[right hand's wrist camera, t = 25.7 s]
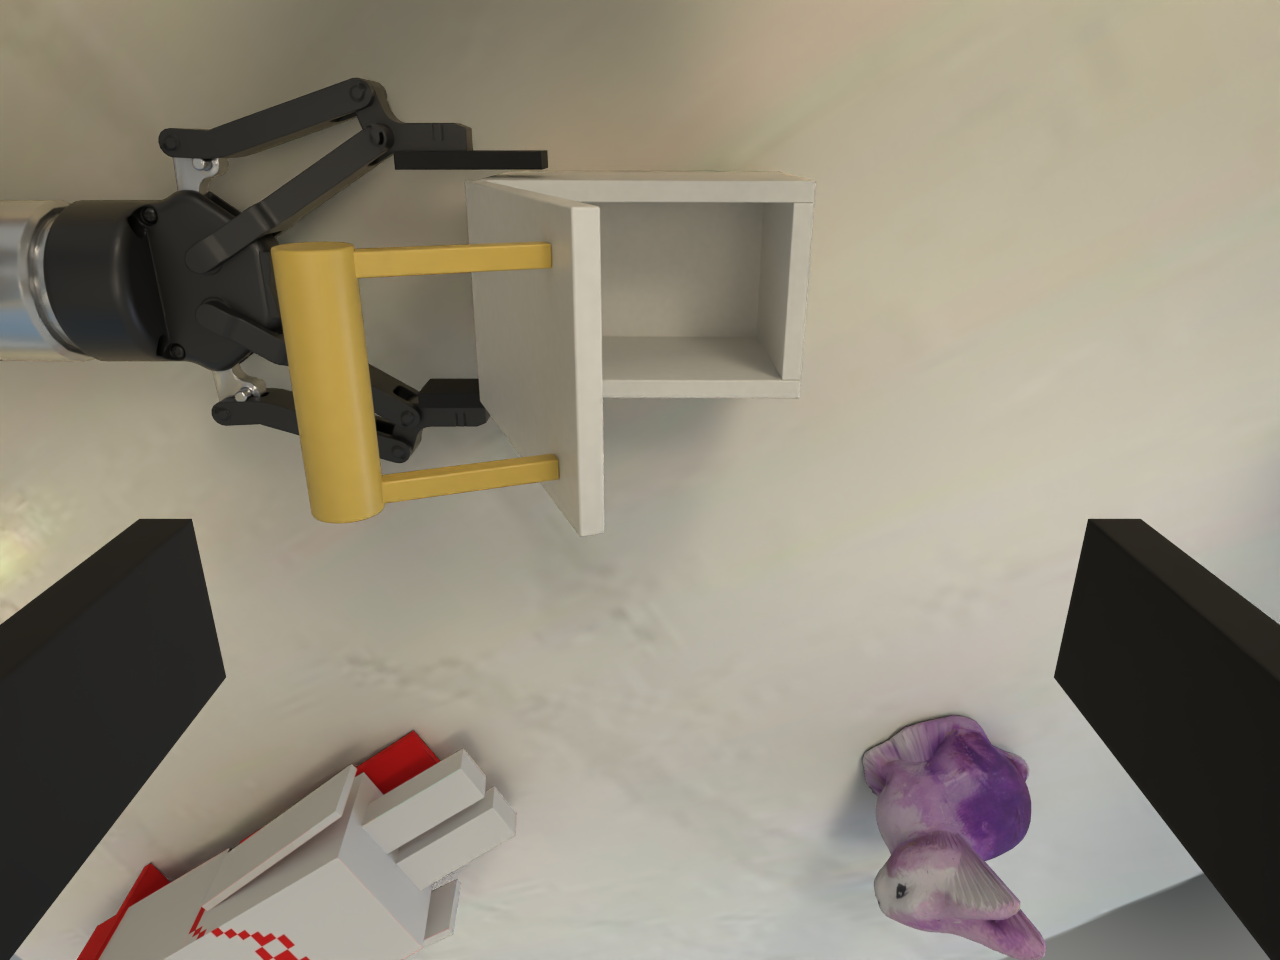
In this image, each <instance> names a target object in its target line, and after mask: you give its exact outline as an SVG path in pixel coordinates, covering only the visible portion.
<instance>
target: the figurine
mask: <svg viewBox="0 0 1280 960" xmlns="http://www.w3.org/2000/svg"><path fill="white" fill-rule="evenodd" d="M863 765H864V769H865V770H864V771H865V773H864V774H865V780H866V783H867V784H868V785H869V786H868V787H869V788H870V789H872V792H873V793H874V794H876V795H877V796H878V800H877V804H876V819H877V824H878V828H879V831H880V833H881V835H882V838H883V839H884V841H885V843H886V845H887V847H888V849H889V851H890V853H891V856H890V858H889V859H888V861H887V862H886V863H885V865H884V866H883V867H882V868H881V869H880V871H879V872H878V874H877V876H876V878H875V880H874V890H875V896H876V898H877V900H878V903H879V907H880V909H881V911H882V912H883V913H884V914H885V915H886V916H887V917H889V918H891V919H893V920H896V921H898V922H900V923H902V924H904V925H907V926H909V927H912V928H915V929H918V930H922V931H927V932H940V933H950V934H955V935H959V936H962V937H965V938H967V939H970V940H972V941H975V942H977V943H980V944H982V945H984V946H986V947H988V948H990V949H992V950H995V951H998V952H1000V953H1002V954H1005V955H1008V956H1010V957H1013V958H1017V959H1019V960H1038V959H1040V958H1042V957H1043V956H1044V955H1045V953H1046V944H1045V942H1044V940H1043V937H1042V936H1041V934H1040V932H1039V931H1038V930H1037V929H1036V927H1035V926H1034V925H1033V924H1032V923H1031V921H1030V920H1029V919H1028V918H1027V917H1026V915H1025V914H1024V913H1023V912H1022V911H1021V909H1020V901H1019V900H1018V898H1017V897H1016V896H1015V895H1014V894H1013V893H1012V892H1011V890H1010V889H1009V888H1008V887H1007V886H1006V885H1005V884H1004V883H1003V881H1002V880H1001V879H1000V878H999V877H998V876H997V875H996V874H995V872H994V871H993V870H992V869H991V868H990V867H989V866H988V865H987V863H986V862H985V861H987V860H990V859H993V858H995V857H997V856H1000V855H1002V854H1003V853H1005V852H1007V851H1009V850H1011V849H1012V848H1014V847H1015V846H1016V845H1017V844H1019V843H1020V841H1021V840H1022V839H1023V838H1024V836H1025V835H1026V833H1027V831H1028V828H1029V824H1030V820H1031V799H1030V794H1029V791H1028V787H1027V785H1026V783H1025V781H1026V779H1027V778H1028V776H1029V767H1028V765H1027V763H1026V761H1025V760H1023V759H1022V758H1021V757H1019V756H1017V755H1015V754H1012V753H1009V752H1006V751H1004V750H1001V749H999V748H996V747H994V746H992V745H991V743H990V741H989V739H988V738H987V736H986V734H985V732H984V731H983V729H982V728H981V726H980V725H979V724H978V723H977V722H976V721H974V720H972V719H970V718H966V717H962V716H956V715H951V716H948V717H944V718H939V719H934V720H929V721H925V722H921V723H917V724H914V725H912V726H909V727H904V728H903V729H902V730H901V731H900V732H898V733H897V734H895V735H894V736H893V737H892V738H891V739H890V740H888V741H886V742H884V743H883V744H879V745H878V746H876V747H873V748H872V749H870V750H869V751H867V752H866V753H865V754H864V758H863Z"/></svg>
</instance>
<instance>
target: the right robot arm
mask: <svg viewBox="0 0 1280 960" xmlns="http://www.w3.org/2000/svg"><path fill="white" fill-rule="evenodd" d="M225 678H226V675H225V670H224V665H223V661H222V656H221V651H220V647H219V642H218V638H217V633H216V628H215V624H214V619H213V615H212V610H211V605H210V601H209V596H208V591H207V587H206V582H205V578H204V573H203V568H202V564H201V559H200V555H199V550H198V545H197V541H196V536H195V531H194V527H193V522H192V519H139V520H137V521H136V522H135V523H134V524H132V525H131V526H130V527H128V528H127V529H126V530H124V531H123V532H122V533H120V534H119V535H118V536H116V537H115V538H114V539H112V540H111V541H110V542H109V543H107V544H106V545H105V546H103V547H102V548H101V549H99V550H98V551H97V552H95V553H94V554H93V555H91V556H90V557H89V558H88V559H86V560H85V561H84V562H82V563H81V564H80V565H78V566H77V567H76V568H74V569H73V570H72V571H70V572H69V573H68V574H67V575H65V576H64V577H63V578H61V579H60V580H59V581H57V582H56V583H55V584H53V585H52V586H51V587H49V588H48V589H47V590H46V591H44V592H43V593H42V594H40V595H39V596H38V597H36V598H35V599H34V600H32V601H31V602H30V603H28V604H27V605H26V606H25V607H23V608H22V609H21V610H19V611H18V612H17V613H15V614H14V615H13V616H11V617H10V618H9V619H7V620H6V621H5V622H4V623H2V624H1V625H0V960H10V958H11V957H12V956H13V954H14V953H15V952H16V950H17V949H18V948H19V947H20V945H21V944H22V943H23V941H24V940H25V939H26V937H27V936H28V935H29V934H30V932H31V931H32V930H33V928H34V927H35V926H36V924H37V923H38V922H39V920H40V919H41V918H42V917H43V915H44V914H45V913H46V911H47V910H48V909H49V907H50V906H51V905H52V904H53V902H54V901H55V900H56V898H57V897H58V896H59V894H60V893H61V892H62V890H63V889H64V888H65V887H66V885H67V884H68V883H69V881H70V880H71V879H72V877H73V876H74V875H75V874H76V872H77V871H78V870H79V868H80V867H81V866H82V864H83V863H84V862H85V861H86V859H87V858H88V857H89V855H90V854H91V853H92V851H93V850H94V849H95V847H96V846H97V845H98V844H99V842H100V841H101V840H102V838H103V837H104V836H105V834H106V833H107V832H108V831H109V829H110V828H111V827H112V825H113V824H114V823H115V821H116V820H117V819H118V817H119V816H120V815H121V814H122V812H123V811H124V810H125V808H126V807H127V806H128V804H129V803H130V802H131V801H132V799H133V798H134V797H135V795H136V794H137V793H138V791H139V790H140V789H141V788H142V786H143V785H144V784H145V782H146V781H147V780H148V778H149V777H150V776H151V774H152V773H153V772H154V771H155V769H156V768H157V767H158V765H159V764H160V763H161V761H162V760H163V759H164V758H165V756H166V755H167V754H168V752H169V751H170V750H171V748H172V747H173V746H174V744H175V743H176V742H177V741H178V739H179V738H180V737H181V735H182V734H183V733H184V731H185V730H186V729H187V728H188V726H189V725H190V724H191V722H192V721H193V720H194V718H195V717H196V716H197V715H198V713H199V712H200V711H201V709H202V708H203V707H204V705H205V704H206V703H207V701H208V700H209V699H210V698H211V696H212V695H213V694H214V692H215V691H216V690H217V688H218V687H219V686H220V685H221V683H222V682H223V681H224V679H225ZM1054 678H1055V679H1056V681H1057V682H1058V683H1059V685H1060V686H1061V687H1062V688H1063V690H1064V691H1065V692H1066V694H1067V695H1068V696H1069V698H1070V699H1071V700H1072V701H1073V703H1074V704H1075V705H1076V707H1077V708H1078V709H1079V711H1080V712H1081V713H1082V715H1083V716H1084V717H1085V718H1086V720H1087V721H1088V722H1089V724H1090V725H1091V726H1092V728H1093V729H1094V730H1095V731H1096V733H1097V734H1098V735H1099V737H1100V738H1101V739H1102V741H1103V742H1104V743H1105V744H1106V746H1107V747H1108V748H1109V750H1110V751H1111V752H1112V754H1113V755H1114V756H1115V758H1116V759H1117V760H1118V761H1119V763H1120V764H1121V765H1122V767H1123V768H1124V769H1125V771H1126V772H1127V773H1128V774H1129V776H1130V777H1131V778H1132V780H1133V781H1134V782H1135V784H1136V785H1137V786H1138V788H1139V789H1140V790H1141V791H1142V793H1143V794H1144V795H1145V797H1146V798H1147V799H1148V801H1149V802H1150V803H1151V804H1152V806H1153V807H1154V808H1155V810H1156V811H1157V812H1158V814H1159V815H1160V816H1161V817H1162V819H1163V820H1164V821H1165V823H1166V824H1167V825H1168V827H1169V828H1170V829H1171V831H1172V832H1173V833H1174V834H1175V836H1176V837H1177V838H1178V840H1179V841H1180V842H1181V844H1182V845H1183V846H1184V847H1185V849H1186V850H1187V851H1188V853H1189V854H1190V855H1191V857H1192V858H1193V859H1194V861H1195V862H1196V863H1197V864H1198V866H1199V867H1200V868H1201V870H1202V871H1203V872H1204V874H1205V875H1206V876H1207V877H1208V879H1209V880H1210V881H1211V883H1212V884H1213V885H1214V887H1215V888H1216V889H1217V890H1218V892H1219V893H1220V894H1221V896H1222V897H1223V898H1224V900H1225V901H1226V902H1227V904H1228V905H1229V906H1230V907H1231V909H1232V910H1233V911H1234V913H1235V914H1236V915H1237V917H1238V918H1239V919H1240V920H1241V922H1242V923H1243V924H1244V926H1245V927H1246V928H1247V930H1248V931H1249V932H1250V934H1251V935H1252V936H1253V937H1254V939H1255V940H1256V941H1257V943H1258V944H1259V945H1260V947H1261V948H1262V949H1263V950H1264V952H1265V953H1266V954H1267V956H1268V957H1269V958H1270V960H1280V625H1279V624H1278V623H1276V622H1275V621H1274V620H1273V619H1271V618H1270V617H1269V616H1267V615H1266V614H1265V613H1263V612H1262V611H1261V610H1259V609H1258V608H1257V607H1255V606H1254V605H1253V604H1252V603H1250V602H1249V601H1248V600H1246V599H1245V598H1244V597H1242V596H1241V595H1240V594H1238V593H1237V592H1236V591H1234V590H1233V589H1232V588H1231V587H1229V586H1228V585H1227V584H1225V583H1224V582H1223V581H1221V580H1220V579H1219V578H1217V577H1216V576H1215V575H1213V574H1212V573H1211V572H1210V571H1208V570H1207V569H1206V568H1204V567H1203V566H1202V565H1200V564H1199V563H1198V562H1196V561H1195V560H1194V559H1192V558H1191V557H1190V556H1189V555H1187V554H1186V553H1185V552H1183V551H1182V550H1181V549H1179V548H1178V547H1177V546H1175V545H1174V544H1173V543H1171V542H1170V541H1169V540H1168V539H1166V538H1165V537H1164V536H1162V535H1161V534H1160V533H1158V532H1157V531H1156V530H1154V529H1153V528H1152V527H1150V526H1149V525H1148V524H1147V523H1145V522H1144V521H1143V520H1141V519H1088V522H1087V527H1086V531H1085V536H1084V541H1083V545H1082V550H1081V555H1080V559H1079V564H1078V568H1077V573H1076V578H1075V582H1074V587H1073V591H1072V596H1071V601H1070V605H1069V610H1068V615H1067V619H1066V624H1065V628H1064V633H1063V638H1062V642H1061V647H1060V651H1059V656H1058V661H1057V665H1056V670H1055V675H1054Z"/></svg>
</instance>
